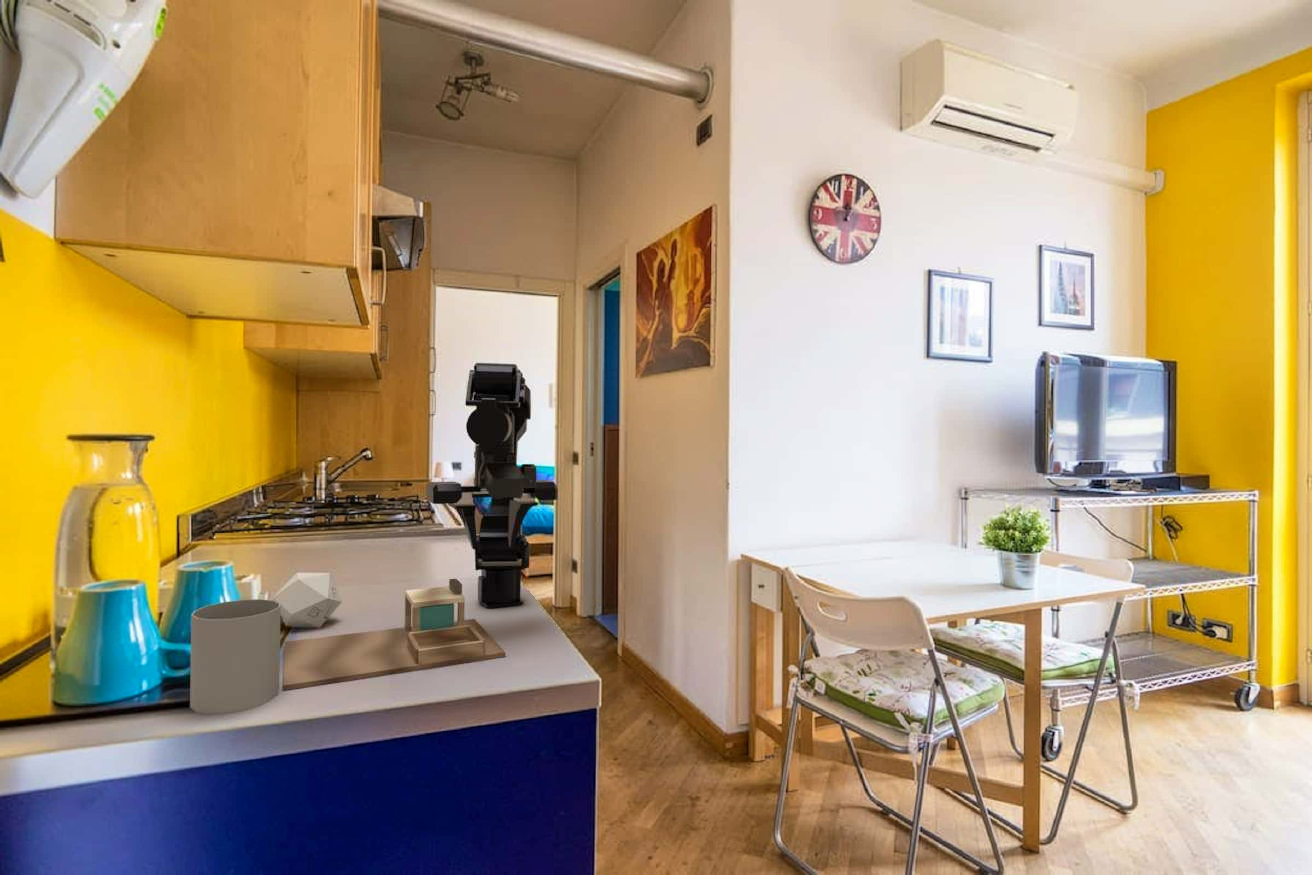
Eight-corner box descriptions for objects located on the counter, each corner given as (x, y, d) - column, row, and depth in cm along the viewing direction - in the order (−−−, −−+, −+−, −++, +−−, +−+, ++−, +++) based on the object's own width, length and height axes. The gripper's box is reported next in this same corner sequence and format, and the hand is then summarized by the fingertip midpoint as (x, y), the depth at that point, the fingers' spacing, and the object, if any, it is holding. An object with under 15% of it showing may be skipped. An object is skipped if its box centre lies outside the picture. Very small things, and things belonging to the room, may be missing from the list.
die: (293, 641, 94) (339, 584, 97) (249, 608, 96) (296, 553, 98) (320, 644, 102) (361, 591, 105) (279, 613, 103) (321, 562, 106)
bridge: (452, 622, 100) (453, 576, 100) (464, 636, 94) (464, 586, 94) (404, 628, 97) (405, 580, 97) (412, 643, 90) (413, 591, 90)
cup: (296, 687, 76) (297, 602, 76) (237, 717, 68) (238, 622, 68) (235, 680, 78) (236, 597, 78) (170, 708, 70) (172, 615, 70)
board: (474, 622, 103) (474, 607, 103) (505, 656, 88) (505, 638, 88) (284, 646, 90) (285, 628, 90) (283, 690, 75) (283, 669, 75)
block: (446, 626, 98) (446, 597, 98) (452, 635, 94) (453, 604, 94) (415, 630, 96) (415, 600, 96) (420, 639, 92) (420, 607, 92)
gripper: (441, 446, 88) (439, 562, 88) (571, 447, 97) (569, 552, 97) (427, 444, 97) (425, 548, 97) (546, 445, 106) (544, 540, 107)
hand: (492, 547), depth 99 cm, fingers open, 5 cm apart
